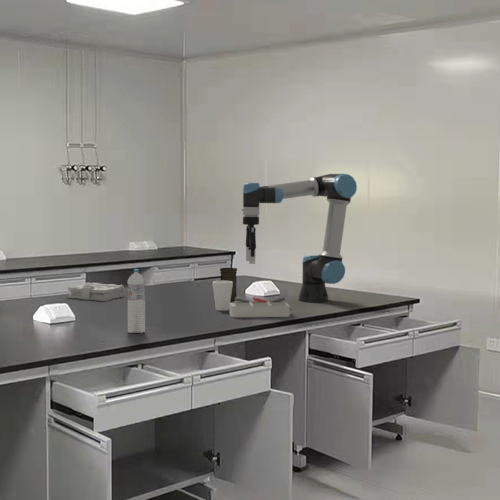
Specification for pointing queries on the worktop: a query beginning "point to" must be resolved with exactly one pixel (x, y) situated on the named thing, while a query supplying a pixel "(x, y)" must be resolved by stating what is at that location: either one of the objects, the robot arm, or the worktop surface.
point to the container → (230, 279)
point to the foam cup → (222, 294)
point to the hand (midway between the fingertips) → (250, 262)
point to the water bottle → (136, 303)
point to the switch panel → (259, 309)
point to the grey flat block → (96, 291)
